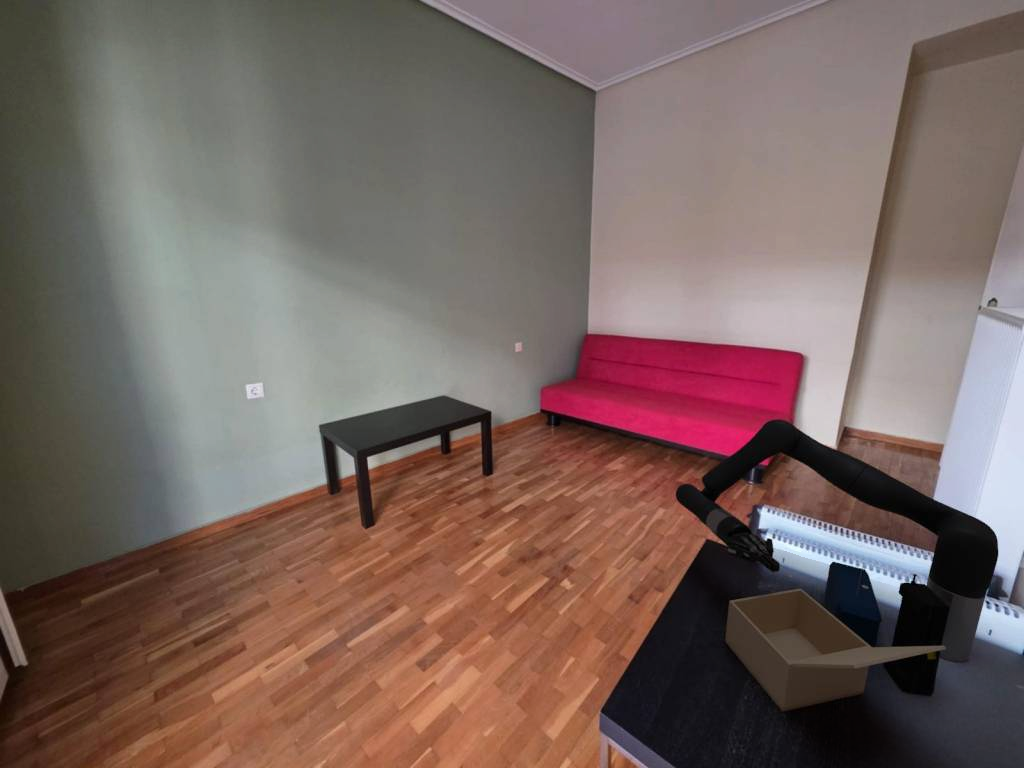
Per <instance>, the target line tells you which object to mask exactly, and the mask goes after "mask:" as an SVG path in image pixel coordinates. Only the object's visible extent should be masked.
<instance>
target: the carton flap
mask: <svg viewBox="0 0 1024 768" xmlns="http://www.w3.org/2000/svg"><path fill="white" fill-rule="evenodd" d="M944 649H946V648H945V646H909V647H891V646H880V647H879V646H878V647H877V646H875V647H870V648H865V649H861V650H856V651H851V652H846V653H841V654H836V655H831V656H827V657H822V658H817V659H812V660H807V661H802V662H797V663H793V664H792V665H793V667H823V668H860V667H865V666H869V667H870V666H874V665H877V664H878V665H879V664H882V663H883V664H884V662H888V661H893V660H897V659H902V658H907V657H911V656H916V655H921V654H925V653H930V652H935V651H939V650H944Z"/></svg>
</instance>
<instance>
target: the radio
mask: <svg viewBox="0 0 1024 768" xmlns="http://www.w3.org/2000/svg"><path fill="white" fill-rule="evenodd" d="M827 573H828V575H827V580H826V587H825V591H824V593H825V594H824V597H825V602H826V603H825V604H826V610H827V611H829V612H830V613H831V614H832V615H833V616H835V617H836V618H837V619H838V620H840V621H841V622H842V623H843V624H844V625H846V626H847V627H848V628H849V629H850V630H852V631H853V632H854V633H855V634H857V635H858V636H859V637H860V638H861V639H863V640H864V641H865V642H866V643H867V644H869V645H870V646H871V647H876V644H877V640H878V634H879V630H880V625H881V623H882V621H883V620H882V613H881V610H880V608H879V607H880V606H879V604H878V601H877V598H876V594H875V591H874V589H873V584H872V583H871V582H872V581H871V579H870V575H869V573H868V571H866V569H864V568H860V567H856V566H852V565H848V564H846V563H845V564H844V563H841V562H837V561H832V562H831V563H830V564H829V569H828V572H827Z"/></svg>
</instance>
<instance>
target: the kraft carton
mask: <svg viewBox="0 0 1024 768" xmlns="http://www.w3.org/2000/svg"><path fill="white" fill-rule="evenodd" d="M727 609H728V610H727V619H726V621H727V622H726V630H725V631H726V632H725V640H724V642H725V643H726V645H728V647H729V648H730V649H731V651H732V652H733V653H734V655H736V657H737V658H738V659H739V661H740V662H741V664H742V665H744V667H745V668H746V669H747V670H748V671H749V673H750V674H751V675H752V677H753V678H754V679H755V680H756V681H757V683H759V684H760V687H762V688H763V690H764V691H765V692H766V693H767V695H768V696H769V697H770V698H771V700H772V701H773V702H774V703H775V704H776V706H777V707H778V708H779V709H780V711H781V712H782V713H783V712H787V711H792V710H796V709H801V708H805V707H810V706H813V705H814V706H815V705H818V704H819V705H820V704H823V703H827V701H828V702H832V701H836V699H837V700H840V698H841V699H845V698H844V697H846V698H849V697H854V696H859V695H863V694H864V692H865V687H866V683H867V677H868V671H869V669H870V668H869V667H870V665H869V666H865V667H860V668H823V667H793V665H792V664H793V663H797V662H802V661H807V660H812V659H817V658H822V657H827V656H831V655H836V654H841V653H846V652H851V651H856V650H861V649H865V648H870V647H871V646H870V645H869V644H867V643H866V642H865V641H864V640H863V639H861V638H860V637H859V636H858V635H857V634H855V633H854V632H853V631H852V630H850V629H849V628H848V627H847V626H846V625H844V624H843V623H842V622H841V621H840V620H838V619H837V618H836V617H835V616H833V615H832V614H831V613H830V612H829V611H827V608H825V607H824V606H823V605H821V603H819V602H818V601H817V600H815V599H814V597H811V596H810V594H808V593H807V592H806V591H805V590H803V589H802V588H796V589H795V588H794V589H790V590H783V591H777V592H774V593H767V594H760V595H756V596H755V595H754V596H749V597H743V598H739V599H737V598H736V599H732V600H729V602H728V608H727Z"/></svg>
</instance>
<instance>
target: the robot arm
mask: <svg viewBox="0 0 1024 768" xmlns="http://www.w3.org/2000/svg"><path fill="white" fill-rule="evenodd" d="M779 454H782V455H784V456H785V455H786V456H787V457H790V458H792V459H794V460H796V461H798V462H799V463H801V464H803V465H805V466H806V467H809V468H810V469H811V470H812V471H814V472H815V473H817V474H818V475H819V476H820V477H822V479H824V480H826V481H827V482H829V483H830V484H831V485H833V486H835V487H836V488H837V489H839V490H841V491H842V492H844V493H846V494H847V495H849V496H850V497H852V498H854V499H856V500H858V501H859V502H861V503H863V504H865V505H868V506H869V507H873V508H876V509H879V510H882V511H885V512H889V513H891V514H896V515H898V516H902V517H904V518H906V519H909V520H910V521H913V522H914V523H916V524H918V525H919V526H921V527H923V528H924V529H926V530H928V531H929V532H931V533H932V534H934V535H935V536H937V540H936V543H935V547H934V553H933V557H932V561H931V564H930V568H929V571H928V572H929V573H928V578H927V582H926V584H925V585H926V586H928V587H929V588H930V589H931V590H932V591H933V592H934V593H935V594H936V595H937V596H938V597H939V598H940V599H942V600H943V601H944V602H945V603H946V604H947V605H948V606H949V607H950V610H949V615H948V619H947V623H946V628H945V632H944V636H943V641H942V645H941V646H945V648H946V649H944V650H940V658H942V659H944V660H945V659H946V660H947V661H952V662H956V663H957V662H960V663H961V662H962V663H963V662H967V661H968V660H969V659H970V654H971V651H972V647H973V644H974V640H975V637H976V633H977V629H978V625H979V622H980V618H981V615H982V611H983V607H984V603H985V600H986V596H987V592H988V590H989V589H990V587H991V583H992V580H993V578H994V577H993V576H994V574H995V570H996V567H997V562H998V558H999V543H998V542H999V541H998V536H997V534H996V532H995V530H993V528H992V527H991V526H989V525H988V524H987V523H985V522H984V521H983V520H981V519H979V518H977V517H975V516H972V515H970V514H968V513H966V512H964V511H961V510H959V509H957V508H953V506H952V507H951V506H949V505H947V504H945V503H942V502H940V501H939V500H936V499H934V498H932V497H929V496H927V495H925V494H924V493H922V492H920V491H919V490H916V488H913V487H911V486H910V485H907V484H906V483H904V482H902V481H900V480H898V479H897V478H894V477H893V476H891V475H889V474H887V473H885V472H884V471H882V470H880V469H878V468H877V467H875V466H873V465H871V464H869V463H867V462H865V461H863V460H861V459H859V458H857V457H854V456H852V455H851V454H847V453H845V452H842V451H840V450H837V449H835V448H832V447H829V446H827V445H825V444H823V443H821V442H820V441H818V440H816V439H814V438H813V437H811V436H810V435H808V434H806V433H805V432H803V431H802V430H800V429H799V428H797V427H796V426H795V425H793V424H792V423H791V422H789V421H788V420H784V419H781V418H780V419H779V418H778V419H775V418H774V419H771V420H769V421H767V422H765V423H764V424H763V425H762V427H761V428H759V430H758V431H757V432H756V433H755V435H754V436H752V438H751V439H750V440H749V441H747V442H746V443H745V444H744V445H743V446H742V447H740V449H738V450H737V451H735V452H734V453H732V454H731V455H729V456H728V457H727V458H726V459H724V460H723V461H722V462H721V461H720V462H719V463H718V464H716V466H714V467H712V469H710V470H709V471H707V472H706V473H705V474H704V475H703V476H702V477H701V482H702V484H703V485H704V487H703V489H702V490H700V489H698V488H697V487H696V486H694V485H693V484H690V483H683V484H681V485H679V486H678V487H677V488H676V491H675V497H676V498H675V499H676V500H677V502H678V503H679V504H680V505H681V506H682V507H684V508H685V509H686V510H688V511H689V512H691V513H692V514H693V515H694V516H695V517H696V518H697V519H699V521H700V522H701V523H702V524H703V525H705V526H706V528H708V529H709V530H710V532H712V533H713V535H714V536H716V537H717V538H718V539H719V540H720V541H721V542H722V543H723V544H725V545H726V546H727V554H728V555H730V556H733V557H735V558H738V559H740V560H743V561H745V562H749V563H752V564H753V563H754V562H756V563H757V564H761V565H762V566H764V567H765V568H766V569H767V570H768V571H770V572H771V573H777V572H779V571H780V566H781V565H780V562H779V561H778V560H777V559H775V557H773V555H774V551H775V550H774V544H773V539H772V538H771V537H770V538H769V537H768V538H766V539H761V538H760V537H759V536H757V535H756V534H754V533H753V532H752V530H751V528H750V527H749V526H748V525H747V524H745V522H743V521H741V520H740V519H739V518H738V517H736V516H735V515H734V514H732V513H731V512H730V511H728V510H726V509H724V507H722V506H720V505H719V504H718V503H717V502H716V501H717V500H718V499H719V498H720V496H721V494H723V493H724V492H726V491H728V490H729V489H730V488H731V487H733V486H734V485H736V484H737V483H738V482H739V481H741V480H742V479H743V478H744V477H745V476H746V475H747V474H748V473H750V472H751V471H752V470H753V469H754V468H755V467H757V466H758V465H760V464H761V463H763V462H764V461H766V460H768V459H769V458H771V457H774V456H776V455H779Z"/></svg>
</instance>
